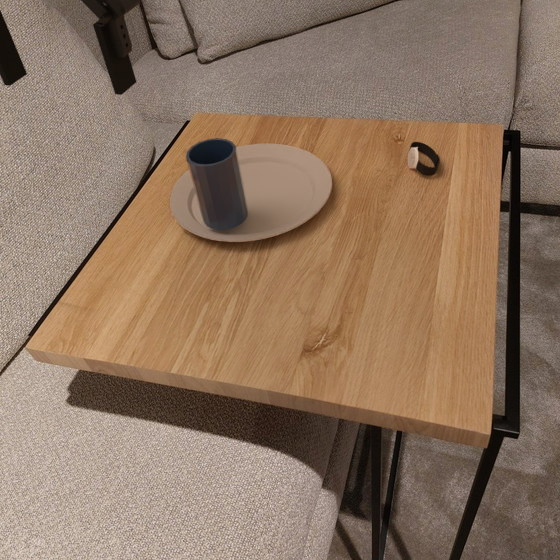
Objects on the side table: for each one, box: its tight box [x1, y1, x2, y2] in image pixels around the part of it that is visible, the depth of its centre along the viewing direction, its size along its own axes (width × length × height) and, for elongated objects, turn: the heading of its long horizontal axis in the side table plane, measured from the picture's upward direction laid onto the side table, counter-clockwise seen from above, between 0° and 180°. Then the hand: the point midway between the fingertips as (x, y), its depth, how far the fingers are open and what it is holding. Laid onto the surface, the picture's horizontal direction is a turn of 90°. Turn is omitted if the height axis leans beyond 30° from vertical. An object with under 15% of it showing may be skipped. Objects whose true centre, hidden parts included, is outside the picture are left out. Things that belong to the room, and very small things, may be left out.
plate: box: [169, 143, 333, 243], centre depth 92 cm, size 26×26×2 cm
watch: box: [407, 141, 441, 177], centre depth 92 cm, size 8×5×4 cm, turn 7°
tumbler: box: [185, 137, 248, 230], centre depth 83 cm, size 7×7×11 cm
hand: (69, 84), depth 59 cm, fingers open, 13 cm apart
